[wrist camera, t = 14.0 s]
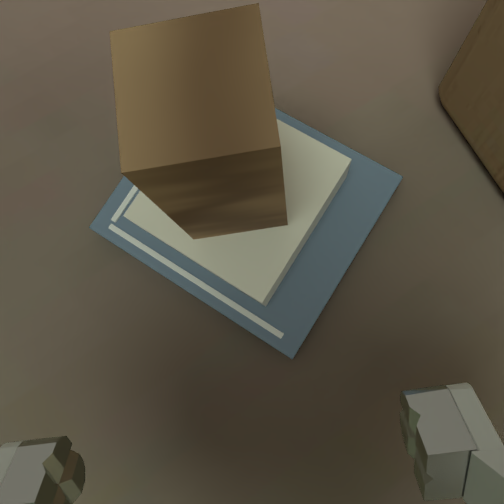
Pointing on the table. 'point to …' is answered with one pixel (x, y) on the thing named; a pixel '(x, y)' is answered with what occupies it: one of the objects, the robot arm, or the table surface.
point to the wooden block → (480, 89)
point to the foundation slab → (263, 240)
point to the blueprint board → (301, 271)
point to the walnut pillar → (201, 121)
